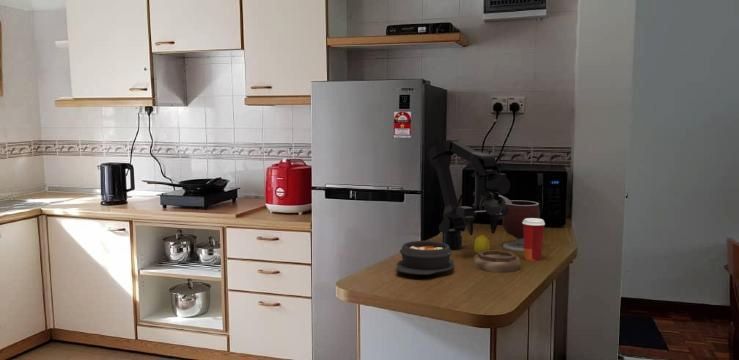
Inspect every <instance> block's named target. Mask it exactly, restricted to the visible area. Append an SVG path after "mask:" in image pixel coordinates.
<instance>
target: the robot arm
mask: <svg viewBox="0 0 739 360" xmlns="http://www.w3.org/2000/svg"><path fill="white" fill-rule="evenodd" d="M427 155H428V160H429V163H430V165H431V167H432V168H434V170H436V173H437V178H438V182H439V185H440V191H441V195H442V200H443V204H444V207H445V208H444V210H443V214H442V219H443V220H442V221H441V223H439V224H438V230H439V233H442V242H441V243H445V244H447V245H449V247H450V250H451V251H454V250H455V251H456V250H459V249H462V248H464V246H463V235H462V232H465V230H466V229H467V231H468V234H469V236H473V233H474V221H475V219H476V216H474V215H475V214H485V213H487V214H488V215H489V217H490V218H489V219H490V230H491V231H490V232H491V234H493V235H494V234H495V232H496V230H497V227H498V225H499V223H500V221H501V220H502V217H504V216H506V215H505V214H509V208H508V206H506V201H505V200H504V199H503V198H501V199H499V200H497V199H495V194H499V195H506V194H507V193H508V192H509V191H510V189H511V182H510V179H508V177H507V174H506V173H502V171H501V169H500V167H499V166H498V163H497V161H496V157H495V156H494V155H493V154H489V153H487V152H486V153H485V152H480V151H477V150H475V149H473V148H471V147H469V146H468V145H466V144H464V143H462V142H461V141H460V140H459V139H446V140H444V141H443V142H441V143H439V144H438V145H435V146H432V147H431V148H429V150H428V152H427ZM454 155H456V156H458V157H460V158H462V159H463V160H465V161H466V162H468V163H469V166H470V167H471V168H472V169H473V170H474V172H473V173H472V174H471V175H470V176H471V177H472V178H475V185H474V186H475V187H474V188H475V189H474V192H472V196H473V197H474V203H472V207H471V206H467V205H466V206H465V205H464V206H463V205H462V206H461V205H460V204H459V201H458V198H457V193H456V189H455V186H454V181H453V176H452V173H451V169H450V167H451V163H452V161H453V160H452V157H454ZM494 193H495V194H494Z"/></svg>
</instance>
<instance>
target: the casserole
mask: <svg viewBox="0 0 739 360" xmlns="http://www.w3.org/2000/svg"><path fill="white" fill-rule="evenodd" d="M399 253H400V254H401V258H402V259H401V260H399V261H398V262H397V263H396V266H397V267H396V269H395V270H396V271H398V272H399V273H403V274H407V275H416V276H430V275H437V274H441V273H444V272H448V271H450V270H453V269H454V268H455V264H454V260H453V259H452V258H451V256H452V254H453V250H451V249H450V247H449V245H447V244H445V243H442V242H440V241H434V240H433V241H432V240H415V241H408V242H405V243H403V245H402V247H401V248H400V250H399Z"/></svg>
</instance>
